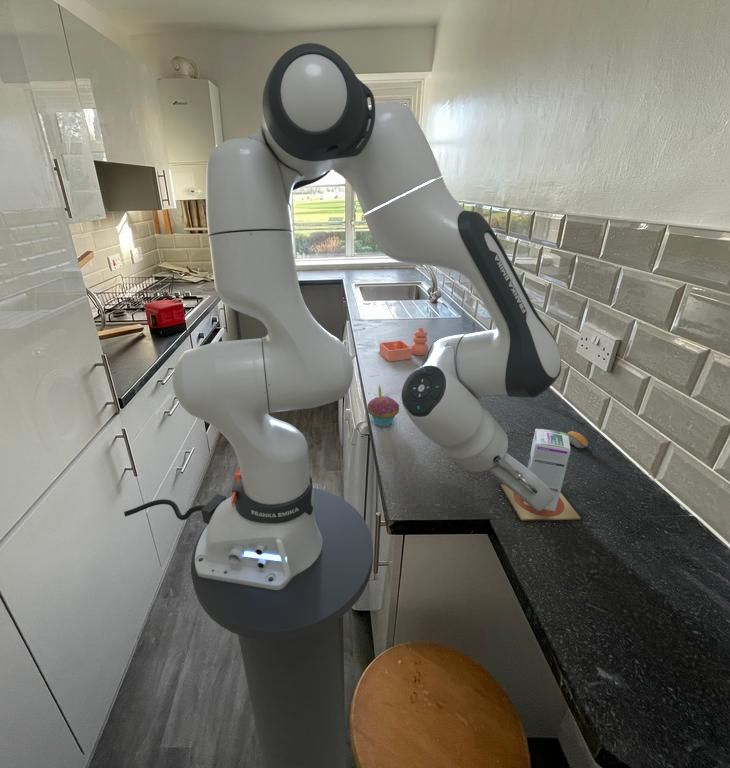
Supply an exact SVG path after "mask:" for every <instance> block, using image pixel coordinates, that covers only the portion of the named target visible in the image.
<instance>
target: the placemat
mask: <svg viewBox="0 0 730 768" xmlns="http://www.w3.org/2000/svg"><path fill="white" fill-rule="evenodd" d="M499 487H501V489H502V492H503V493H504V494H505V497H506V498H507V499H508V502H509V503H510V505H511V506H512V508H513V510H514V511H515V513H516V515H517V516H518V518H519V520H520V521H573V520H574V521H575V520H576V521H577V520H578V521H580V520H581V516H580V515H579V514H578V513H577V511H576V510H575V509H574V507H573V506H572V505H571V504H570V502H569V500H568V499H566V497H565V496H564V494H563V493H562V492H560V496H559V499H558V503H557V507H556V510H555V512H553V511H549V510H544V509H543V510H541V511H536V510H535V509H533V508H532V507H531V506H528V505H525V504H523V500H522V499H521V498H520V497H519V496H518V495H516V494H515V493H514V492H513V491H512V490H511V489H509V488H508V487H507V486H506V485H505V484H503V483H500V486H499Z"/></svg>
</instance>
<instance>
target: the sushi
mask: <svg viewBox="0 0 730 768" xmlns="http://www.w3.org/2000/svg"><path fill="white" fill-rule="evenodd" d="M566 433H567V434H568V437H569V443H570V445H572V446H574V447H575V448H577V449H585V448H587V447H588V445H589V442H588V439H587V438H586V437H585V436H584V435H582V434H581V433H580V432H577V431H573V430H571V431H568V432H566Z"/></svg>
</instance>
